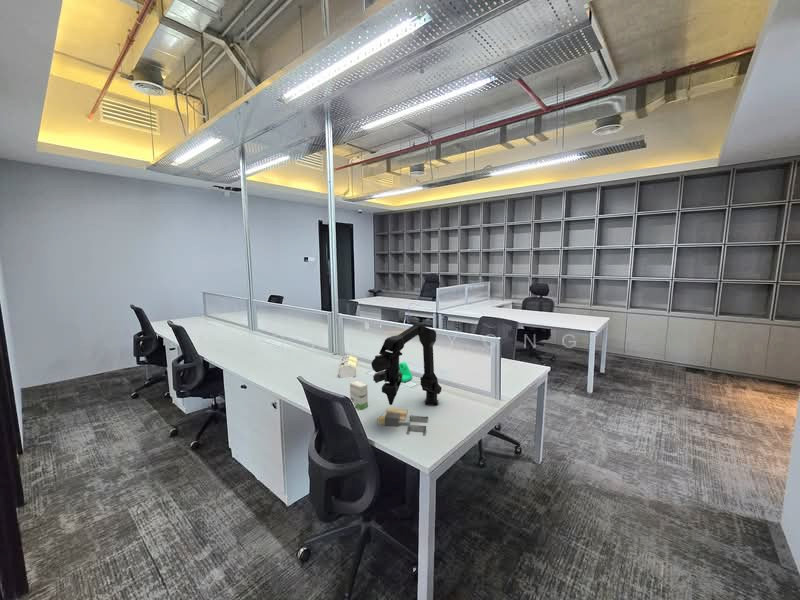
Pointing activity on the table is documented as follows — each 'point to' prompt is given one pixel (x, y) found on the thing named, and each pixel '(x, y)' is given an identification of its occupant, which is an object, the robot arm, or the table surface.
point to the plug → (392, 420)
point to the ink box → (359, 394)
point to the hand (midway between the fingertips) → (392, 400)
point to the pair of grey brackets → (417, 427)
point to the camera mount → (405, 371)
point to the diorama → (348, 366)
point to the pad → (400, 411)
